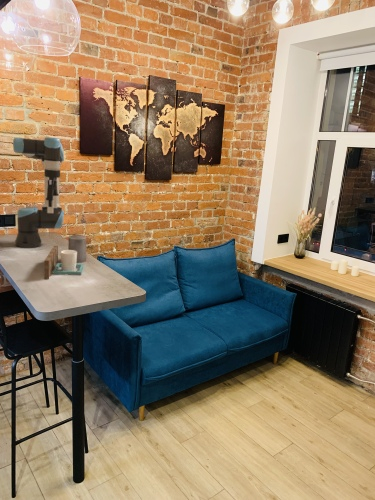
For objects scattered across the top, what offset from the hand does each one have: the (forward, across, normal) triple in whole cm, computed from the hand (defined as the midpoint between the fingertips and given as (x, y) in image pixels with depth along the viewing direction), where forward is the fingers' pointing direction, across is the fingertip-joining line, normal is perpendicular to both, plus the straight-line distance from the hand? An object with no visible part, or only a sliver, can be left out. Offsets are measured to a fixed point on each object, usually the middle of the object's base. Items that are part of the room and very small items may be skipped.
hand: (52, 210), depth 194 cm
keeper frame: (+28, -13, -10) cm, 33 cm away
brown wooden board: (+28, -13, -1) cm, 31 cm away
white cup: (+28, -13, -10) cm, 33 cm away
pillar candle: (+29, +5, -13) cm, 32 cm away
